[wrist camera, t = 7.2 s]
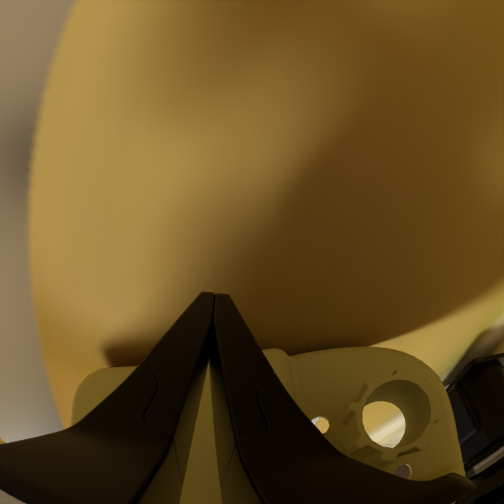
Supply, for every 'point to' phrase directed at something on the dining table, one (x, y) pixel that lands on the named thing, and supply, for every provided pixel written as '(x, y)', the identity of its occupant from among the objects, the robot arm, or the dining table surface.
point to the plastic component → (327, 411)
